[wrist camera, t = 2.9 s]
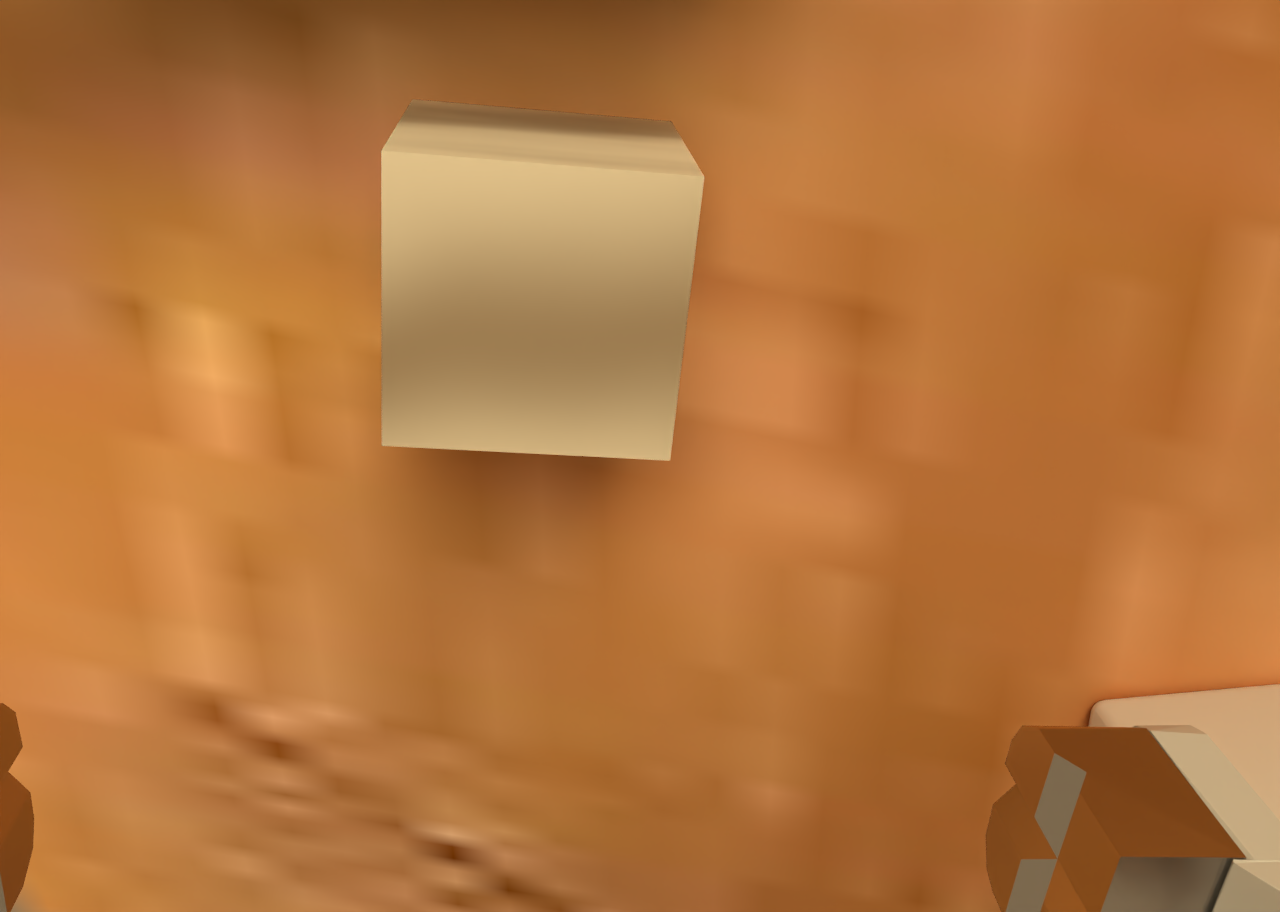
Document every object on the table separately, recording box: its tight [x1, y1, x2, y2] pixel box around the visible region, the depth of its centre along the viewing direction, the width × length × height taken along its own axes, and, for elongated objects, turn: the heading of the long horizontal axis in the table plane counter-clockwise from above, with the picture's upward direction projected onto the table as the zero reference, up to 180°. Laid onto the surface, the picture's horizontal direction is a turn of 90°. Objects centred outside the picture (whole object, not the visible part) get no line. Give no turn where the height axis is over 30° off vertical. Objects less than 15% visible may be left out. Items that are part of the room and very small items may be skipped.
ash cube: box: [381, 99, 704, 461], centre depth 21 cm, size 5×5×5 cm
